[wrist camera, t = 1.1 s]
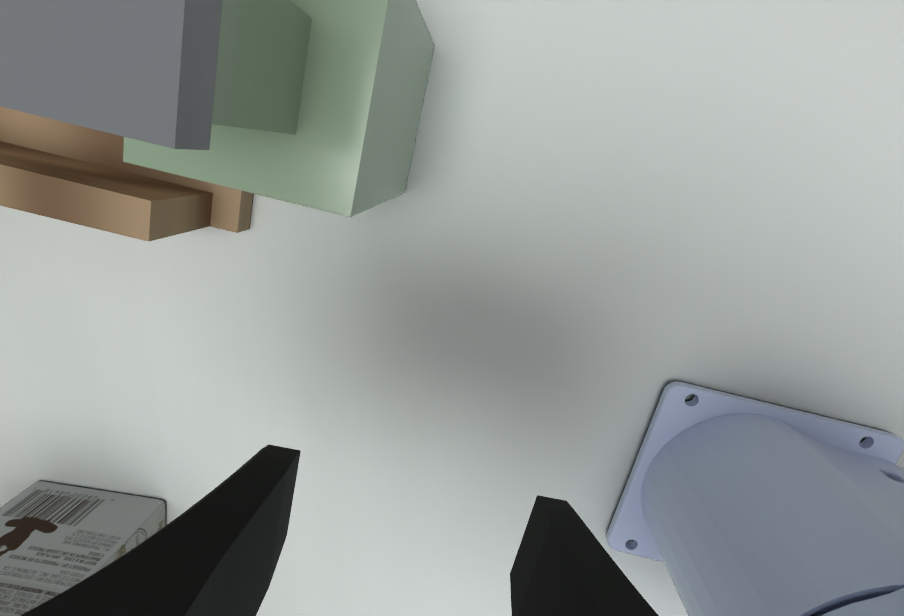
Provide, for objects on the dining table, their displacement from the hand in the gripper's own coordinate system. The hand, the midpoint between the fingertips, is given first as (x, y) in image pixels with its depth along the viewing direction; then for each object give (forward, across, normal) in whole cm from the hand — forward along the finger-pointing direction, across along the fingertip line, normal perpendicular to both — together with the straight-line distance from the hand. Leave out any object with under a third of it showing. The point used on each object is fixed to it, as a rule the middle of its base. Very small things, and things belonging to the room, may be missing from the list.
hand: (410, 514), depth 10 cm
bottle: (+11, +4, -7) cm, 14 cm away
